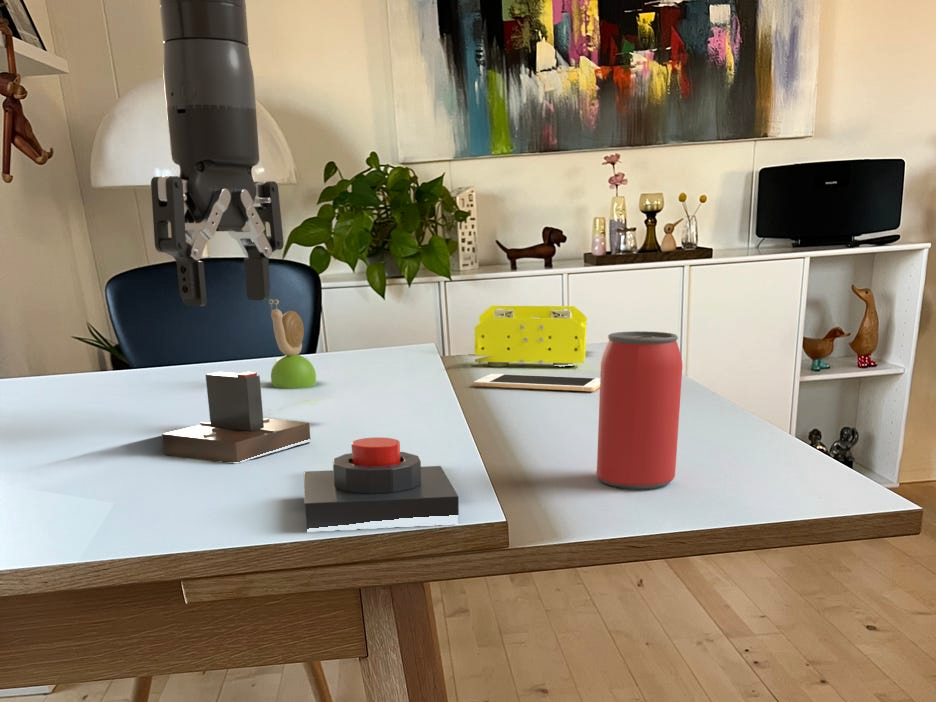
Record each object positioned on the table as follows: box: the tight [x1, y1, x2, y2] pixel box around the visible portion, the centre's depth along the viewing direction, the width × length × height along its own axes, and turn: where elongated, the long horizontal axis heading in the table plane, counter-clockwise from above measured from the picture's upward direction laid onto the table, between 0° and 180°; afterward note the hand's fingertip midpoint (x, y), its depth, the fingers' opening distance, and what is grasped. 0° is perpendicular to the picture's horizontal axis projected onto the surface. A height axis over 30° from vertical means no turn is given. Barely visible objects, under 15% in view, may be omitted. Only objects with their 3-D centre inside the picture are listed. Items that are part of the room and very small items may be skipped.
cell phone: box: [473, 373, 600, 392], centre depth 137 cm, size 8×16×1 cm, turn 72°
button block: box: [303, 451, 460, 530], centre depth 79 cm, size 11×10×4 cm
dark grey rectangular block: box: [205, 371, 264, 431], centre depth 100 cm, size 5×2×5 cm, turn 61°
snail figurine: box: [268, 298, 317, 390], centre depth 125 cm, size 5×6×12 cm
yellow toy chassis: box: [474, 305, 588, 367], centre depth 154 cm, size 16×6×8 cm, turn 82°
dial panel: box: [161, 417, 311, 463], centre depth 101 cm, size 11×9×2 cm
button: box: [351, 436, 401, 466], centre depth 78 cm, size 4×4×2 cm
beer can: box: [596, 330, 683, 490], centre depth 86 cm, size 7×7×12 cm
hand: (227, 302), depth 96 cm, fingers open, 8 cm apart
